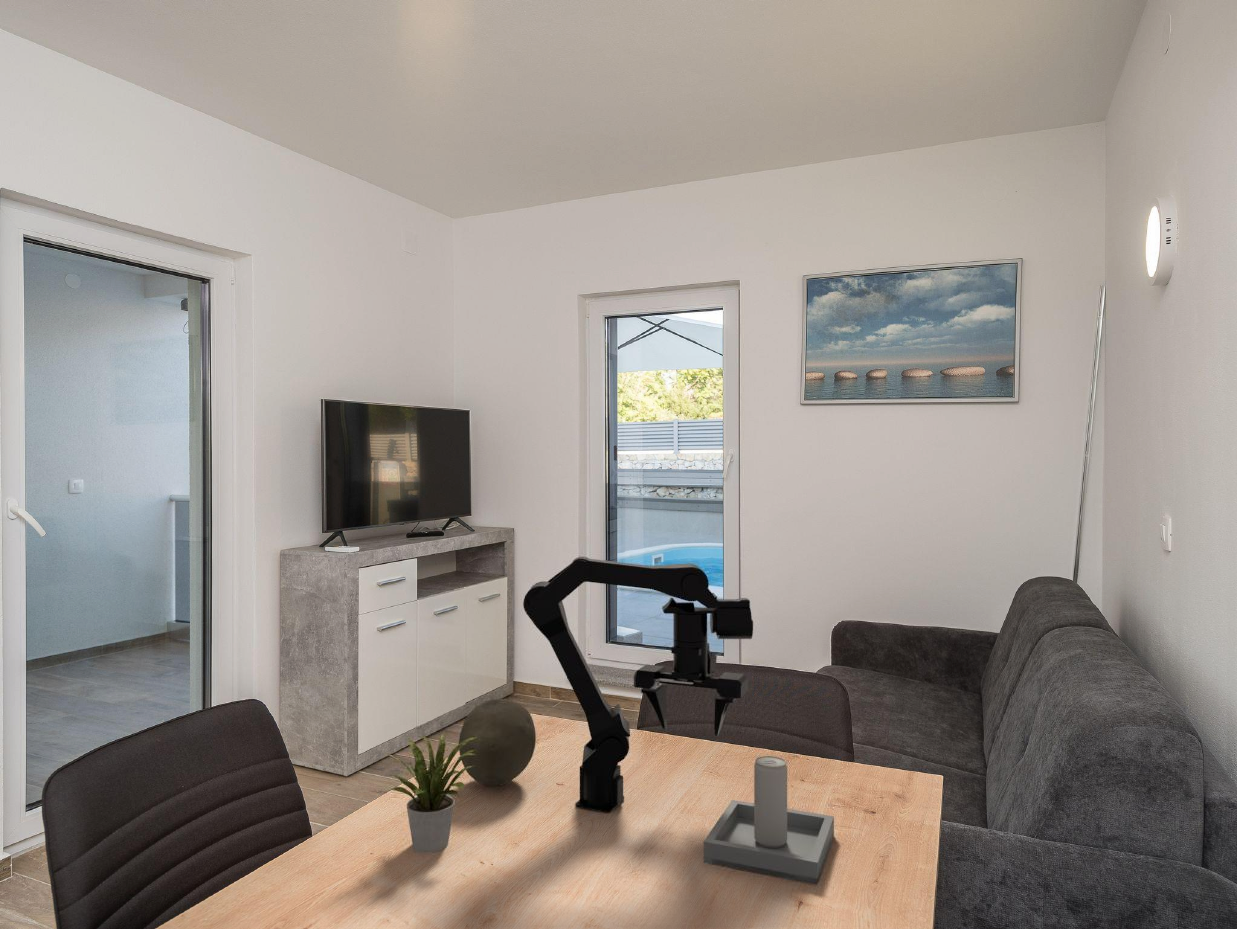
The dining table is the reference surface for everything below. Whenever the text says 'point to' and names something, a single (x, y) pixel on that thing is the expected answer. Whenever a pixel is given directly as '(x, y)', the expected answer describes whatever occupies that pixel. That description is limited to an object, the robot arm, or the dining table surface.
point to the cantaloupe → (497, 741)
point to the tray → (791, 861)
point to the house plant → (431, 796)
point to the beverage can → (770, 801)
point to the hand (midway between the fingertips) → (690, 731)
